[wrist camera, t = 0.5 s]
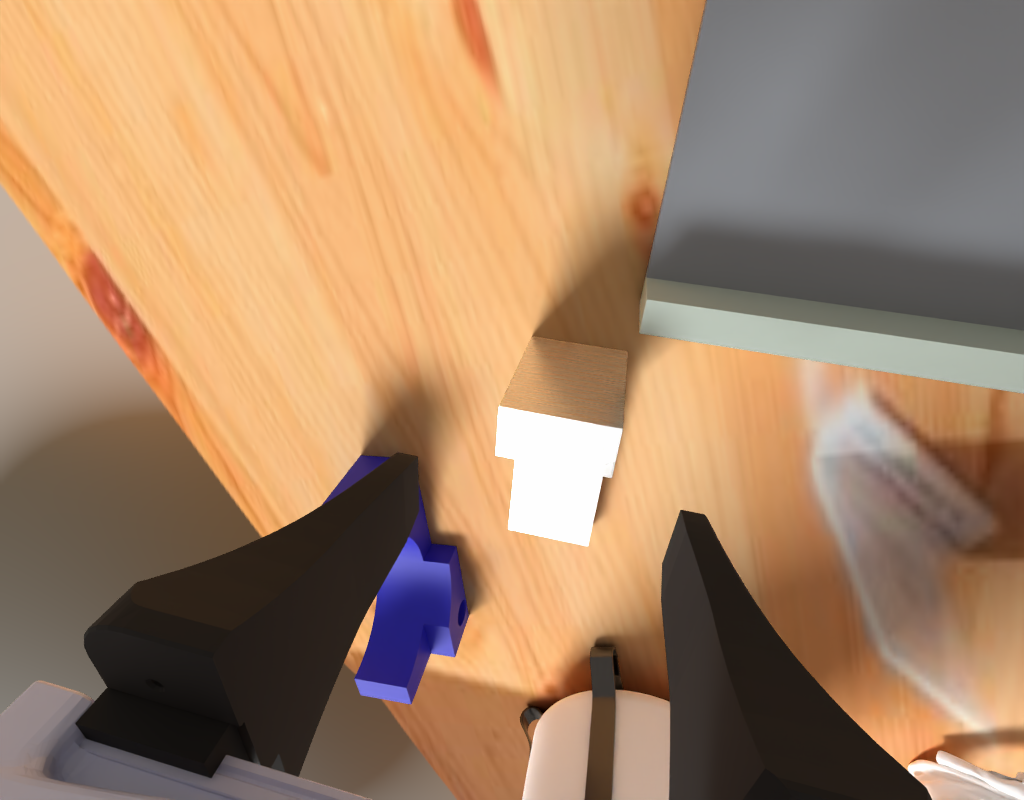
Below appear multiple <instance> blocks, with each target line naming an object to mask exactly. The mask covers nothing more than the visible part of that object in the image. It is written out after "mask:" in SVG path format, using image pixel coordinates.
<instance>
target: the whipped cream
mask: <svg viewBox="0 0 1024 800" xmlns="http://www.w3.org/2000/svg"><path fill="white" fill-rule="evenodd" d="M936 760H937V762H932V761H928V760H916V761H914V762H911V763H910V764H909V765H908V770H909V773H911V774H912V775H913V776H914V777H915V778H916V779H917V780H918V781H920V782H921V783H922V784H923V785H924V786H925V787H926V788H927V790H928V792H929V794H930V796H931V798H932V800H1024V773H1023V772H1019V773H1017V776H1016V778H1010V777H1007V776H1004V775H1002V774H999V773H996V772H993V771H985V770H983V769H981V768H979V767H977V766H975V765H973V764H971V763H969V762H967V761H965V760H963V759H960V758H958V757H956V756H954V755H951V754H949V753H947V752H944V751H938V754H937V755H936Z"/></svg>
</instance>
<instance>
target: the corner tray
mask: <svg viewBox="0 0 1024 800" xmlns="http://www.w3.org/2000/svg"><path fill="white" fill-rule="evenodd" d="M639 333H640V334H646V335H653V336H659V337H666V338H672V339H678V340H685V341H691V342H698V343H704V344H710V345H717V346H723V347H729V348H736V349H742V350H749V351H755V352H761V353H768V354H774V355H781V356H787V357H793V358H800V359H806V360H813V361H819V362H825V363H832V364H838V365H845V366H851V367H857V368H864V369H870V370H877V371H883V372H889V373H896V374H902V375H909V376H915V377H921V378H928V379H934V380H940V381H947V382H953V383H960V384H966V385H972V386H979V387H985V388H992V389H998V390H1004V391H1011V392H1017V393H1024V0H706V2H705V7H704V11H703V16H702V21H701V25H700V30H699V34H698V39H697V43H696V48H695V52H694V57H693V62H692V66H691V71H690V75H689V80H688V84H687V89H686V94H685V98H684V103H683V107H682V112H681V116H680V121H679V126H678V130H677V135H676V139H675V144H674V148H673V153H672V158H671V162H670V167H669V171H668V176H667V180H666V185H665V189H664V194H663V199H662V203H661V208H660V212H659V217H658V221H657V226H656V231H655V235H654V240H653V244H652V249H651V253H650V258H649V263H648V267H647V272H646V276H645V281H644V285H643V290H642V294H641V299H640V311H639Z"/></svg>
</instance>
